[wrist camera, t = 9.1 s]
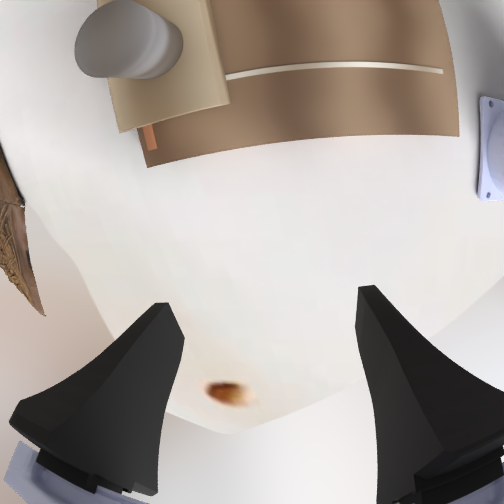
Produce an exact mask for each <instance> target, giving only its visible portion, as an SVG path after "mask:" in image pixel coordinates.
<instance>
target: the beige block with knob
mask: <svg viewBox="0 0 504 504" xmlns="http://www.w3.org/2000/svg"><path fill="white" fill-rule="evenodd" d="M97 5H98V9H97V10H95V11H94V12H93V13H92V14H91V15H90V16H89V17H88V18H87V20H86V21H85V22H84V24H83V25H82V27H81V29H80V31H79V33H78V35H77V38H76V42H75V59H76V62H77V64H78V66H79V68H80V69H81V70H82V71H83V72H84V73H85V74H87V75H89V76H91V77H102V78H108V83H109V88H110V93H111V98H112V103H113V107H114V112H115V116H116V120H117V125H118V129H119V133H122V132H126V131H129V130H132V129H136V128H139V127H143V126H146V125H150V124H153V123H156V122H159V121H163V120H166V119H170V118H173V117H177V116H180V115H184V114H188V113H192V112H196V111H200V110H204V109H209V108H213V107H218V106H223V105H228V104H231V101H230V96H229V91H228V86H227V81H226V76H225V71H224V66H223V61H222V56H221V51H220V46H219V41H218V37H217V32H216V27H215V22H214V17H213V12H212V8H211V3H210V0H97Z"/></svg>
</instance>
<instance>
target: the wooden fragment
mask: <svg viewBox="0 0 504 504" xmlns="http://www.w3.org/2000/svg"><path fill="white" fill-rule="evenodd" d="M21 205H23V206H25V202H24V201H23V199H22V198H21V197H20V196H19V194H18V191H17V189H16V187H15V185H14V182H13V180H12V178H11V175H10V173H9V170H8V168H7V165H6V162H5V160H4V157H3V154H2V151H1V149H0V267H1V268H2V269H3V270H4V272H5V274H6V275H7V276H8V278H9V281H10V282H12V283H14V284H15V286H16V287H17V289H18V290H19V291H20V292H21V293H23V294H24V295H25V297H26V298H27V300H28V301H29V302H30V303H31V305H32V306H33V307H34V308H35V309H36V310H37V311H38V312H39V313H40V314H42V315H43V316H46V315H45V314H44V311H43V307H42V305H41V301H40V297H39V294H38V290H37V285H36V282H35V277H34V274H33V270H32V266H31V263H30V256H29V249H28V241H27V234H26V227H25V226H26V225H25V215H24V211H25V207H24V208H22V207H20V206H21Z"/></svg>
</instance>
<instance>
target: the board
mask: <svg viewBox="0 0 504 504" xmlns="http://www.w3.org/2000/svg"><path fill="white" fill-rule="evenodd" d="M210 3H211V8H212V12H213V17H214V22H215V27H216V32H217V37H218V41H219V46H220V51H221V56H222V61H223V66H224V71H225V76H226V81H227V86H228V91H229V96H230V101H231V104H228V105H223V106H218V107H213V108H209V109H204V110H200V111H196V112H192V113H188V114H184V115H180V116H177V117H173V118H170V119H166V120H163V121H159V122H156V123H153V124H150V125H146V126H143V127H139V128H137V130H138V134H139V138H140V142H141V146H142V150H143V154H144V158H145V161H146V165H147V168H149V167H153V166H157V165H161V164H165V163H169V162H173V161H178V160H182V159H186V158H191V157H196V156H200V155H205V154H210V153H215V152H221V151H226V150H232V149H238V148H244V147H250V146H256V145H263V144H270V143H278V142H286V141H295V140H304V139H314V138H326V137H340V136H358V135H439V136H456V137H459V112H458V98H457V88H456V79H455V72H454V65H453V59H452V53H451V48H450V43H449V38H448V34H447V30H446V26H445V22H444V18H443V14H442V11H441V7H440V4H439V1H438V0H210Z"/></svg>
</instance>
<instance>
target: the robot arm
mask: <svg viewBox="0 0 504 504" xmlns="http://www.w3.org/2000/svg"><path fill="white" fill-rule="evenodd" d="M489 101H490V106H489ZM480 120H481V154H480V173H479V185H478V198H479V199H480V200H481V201H502V200H504V101H503V100H499V99H495V98H491V97H487V96H481V97H480ZM487 193H488V194H487ZM486 194H487V196H486ZM355 330H356V336H357V342H358V348H359V353H360V356H361V360H362V364H363V367H364V371H365V375H366V379H367V382H368V386H369V390H370V394H371V398H372V403H373V409H374V416H375V426H376V439H377V459H378V460H377V462H378V479H377V500H376V501H377V504H504V462H503V463H502V462H501V458H500V457H502V456H503V455H504V449H503V445H504V392H503V391H501V390H499V389H497V388H495V387H493V386H491V385H489V384H488V383H485V382H484V381H482V380H481V379H479V378H477V377H476V376H474V375H472V374H471V373H469V372H468V371H466V370H465V369H463V368H462V367H461V366H459V365H458V364H456V363H455V362H453V361H452V360H451V359H449V358H448V357H447V356H446V355H444V354H443V353H442V352H441V351H439V350H438V349H437V348H436V347H434V346H433V345H432V344H431V343H430V342H429V341H428V340H427V339H426V338H425V337H424V336H422V335H421V334H420V333H419V332H418V331H417V330H416V329H415V328H414V327H413V326H412V325H411V324H410V323H409V322H408V321H407V320H406V319H405V318H404V316H403V315H402V314H401V313H400V312H399V311H398V310H397V309H396V308H395V307H394V306H393V305H392V304H391V303H390V301H389V300H388V299H387V298H386V297H385V296H384V295H383V294H382V292H381V291H380V290H379V289H378V288H377V287H376V286H375V285H369V286H362V287H358V299H357V311H356V322H355ZM184 339H185V337H184V335H183V333H182V331H181V329H180V327H179V325H178V323H177V320H176V318H175V316H174V314H173V312H172V310H171V307H170V305H169V303H155V304H154V305H152V306H151V307H150V308H149V309H148V310H147V311H146V312H145V313H144V314H142V315H141V316H140V317H139V318H138V319H137V320H136V321H135V322H134V323H133V324H132V325H131V326H130V327H129V328H128V329H127V330H126V331H125V332H124V333H123V334H122V335H121V336H120V337H119V338H117V339H116V340H115V341H114V342H113V343H112V344H111V345H110V346H109V347H107V348H106V349H105V350H104V351H103V352H102V353H101V354H100V355H98V356H97V357H96V358H95V359H94V360H92V361H91V362H90V363H88V364H87V365H86V366H84V367H83V368H82V369H80V370H79V371H77V372H76V373H74V374H72V375H71V376H69V377H68V378H66V379H65V380H63V381H62V382H60V383H58V384H56V385H54V386H53V387H51V388H49V389H47V390H45V391H43V392H41V393H38V394H36V395H33V396H31V397H28V398H26V399H23V400H20V402H19V403H18V405H17V407H16V408H15V411H14V412H13V414H12V416H11V418H10V420H9V423H10V425H11V426H12V427H13V428H14V429H15V430H17V431H18V432H19V433H20V434H22V435H23V436H24V437H25V438H27V439H28V440H29V441H31V442H32V443H33V444H35V445H36V446H38V447H39V448H41V449H40V452H39V453H38V452H37V451H35V450H33V449H32V448H30V447H29V446H28V445H26V444H24V443H23V442H22V441H19V443H18V445H17V447H16V449H15V452H14V454H13V457H12V459H11V461H10V464H9V467H8V469H7V472H6V475H5V477H4V481H5V482H6V483H7V484H8V485H9V486H10V487H11V488H12V489H13V490H15V491H16V492H17V493H18V494H19V495H20V496H21V497H22V498H23V499H24V500H25V501H26V502H27V503H28V504H148V503H145V502H141V501H139V500H136V499H133V498H130V497H127V496H124V495H121V494H122V491H125V492H128V493H131V492H132V491H135V492H138V493H142V494H145V495H148V496H153V495H155V494H157V493H158V483H157V482H158V474H157V473H158V455H159V444H160V437H161V429H162V424H163V418H164V413H165V409H166V405H167V402H168V399H169V395H170V392H171V389H172V386H173V383H174V380H175V377H176V374H177V370H178V367H179V364H180V361H181V356H182V351H183V345H184Z"/></svg>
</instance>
